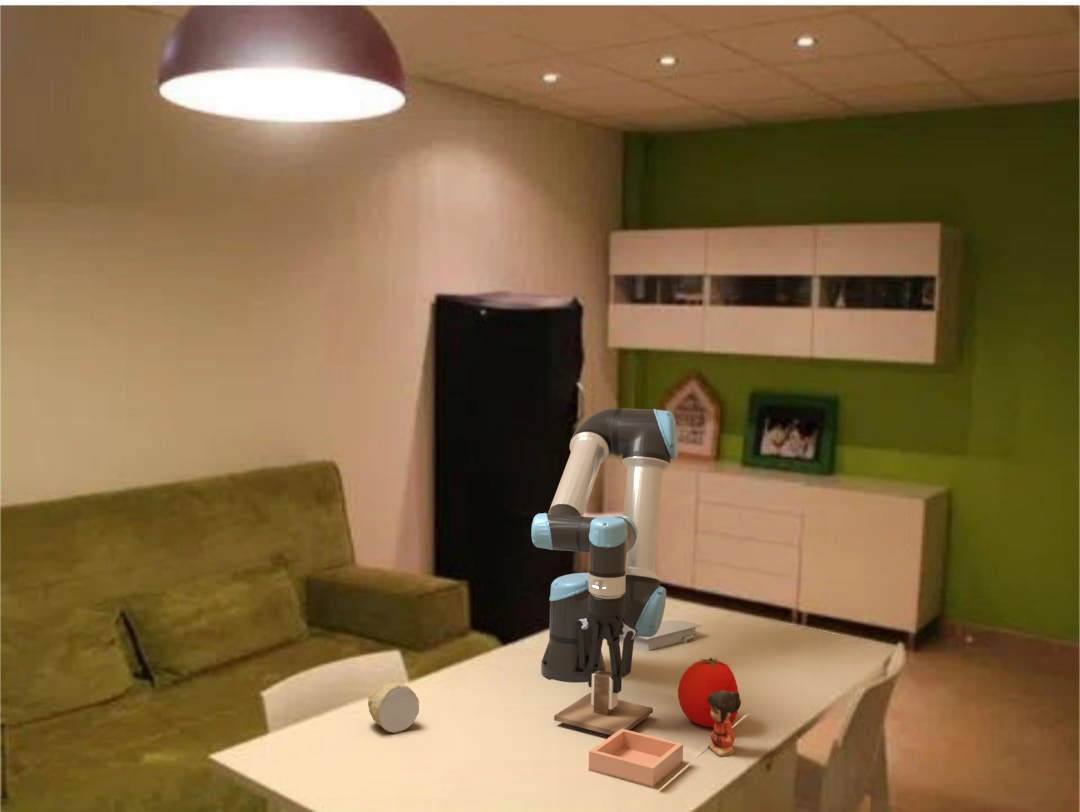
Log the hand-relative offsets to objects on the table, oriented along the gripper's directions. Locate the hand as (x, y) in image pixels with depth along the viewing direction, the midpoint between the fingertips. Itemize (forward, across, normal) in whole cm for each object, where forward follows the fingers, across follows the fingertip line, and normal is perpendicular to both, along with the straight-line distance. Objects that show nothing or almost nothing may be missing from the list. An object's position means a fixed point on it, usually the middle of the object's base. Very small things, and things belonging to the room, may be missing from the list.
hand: (604, 704), depth 215 cm
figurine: (+4, +25, +2) cm, 26 cm away
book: (+6, -16, +59) cm, 62 cm away
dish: (+4, +15, -16) cm, 22 cm away
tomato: (+4, +18, +12) cm, 22 cm away
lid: (+2, 0, 0) cm, 2 cm away
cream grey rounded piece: (+4, -35, -26) cm, 43 cm away
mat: (+4, 0, 0) cm, 4 cm away
